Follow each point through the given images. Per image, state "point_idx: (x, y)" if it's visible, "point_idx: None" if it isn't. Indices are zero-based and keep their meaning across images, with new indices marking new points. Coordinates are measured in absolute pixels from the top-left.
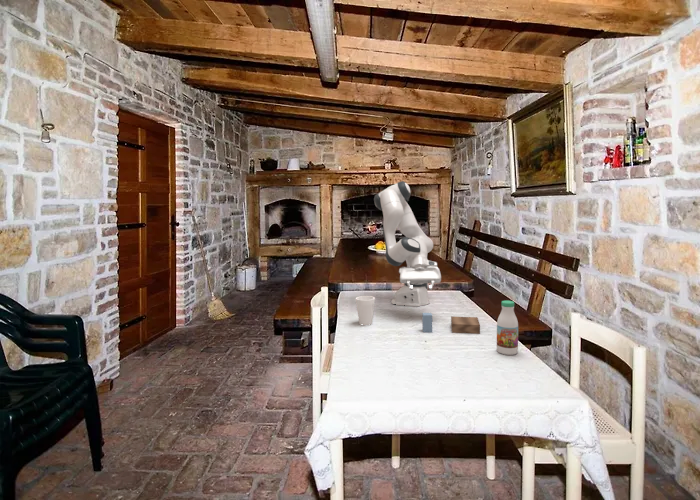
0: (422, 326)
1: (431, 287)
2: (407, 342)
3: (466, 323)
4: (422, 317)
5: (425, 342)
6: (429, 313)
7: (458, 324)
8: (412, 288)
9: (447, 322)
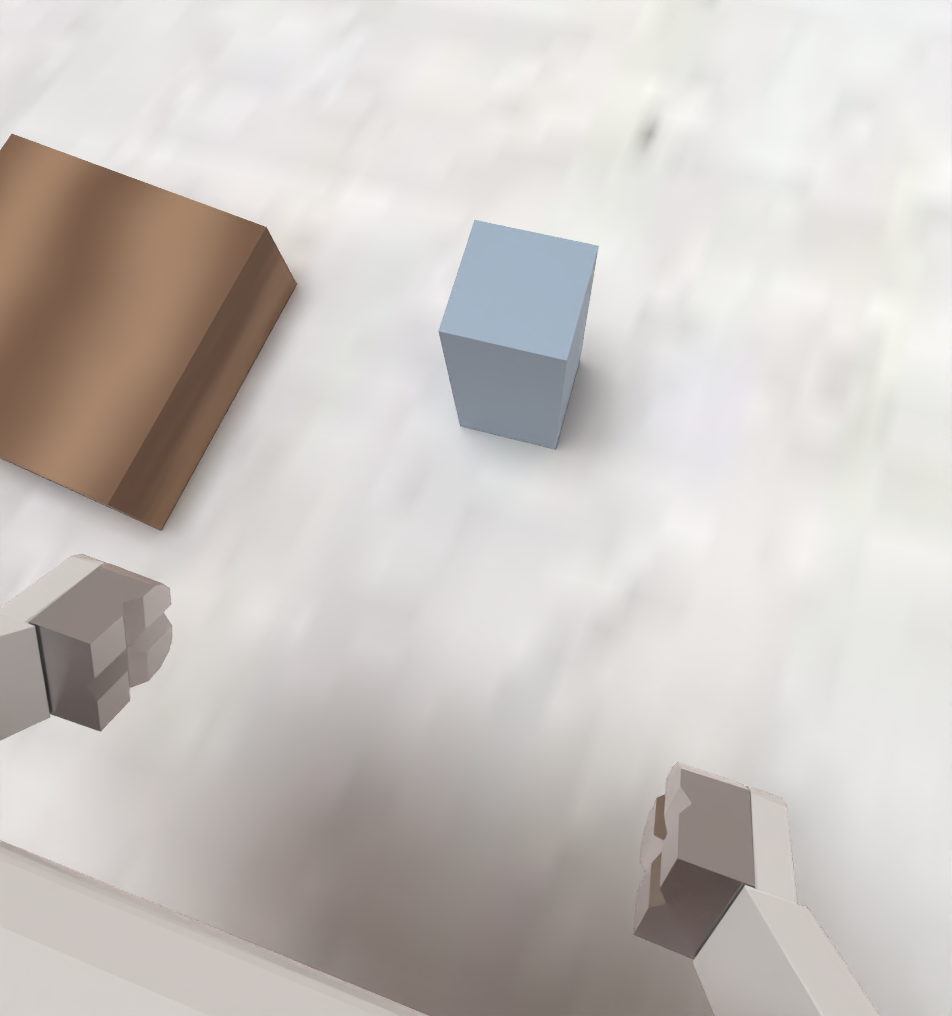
0: (558, 432)
1: (88, 565)
2: (829, 140)
3: (106, 209)
4: (566, 375)
5: (659, 109)
6: (475, 306)
7: (205, 205)
8: (681, 766)
9: None
